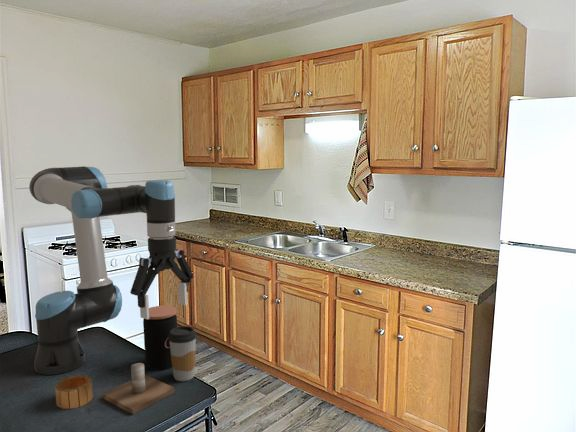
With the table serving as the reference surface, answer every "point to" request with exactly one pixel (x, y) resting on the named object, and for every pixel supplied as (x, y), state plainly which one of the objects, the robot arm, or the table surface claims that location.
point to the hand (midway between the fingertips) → (164, 310)
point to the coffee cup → (183, 352)
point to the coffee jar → (159, 336)
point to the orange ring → (73, 391)
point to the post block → (138, 391)
